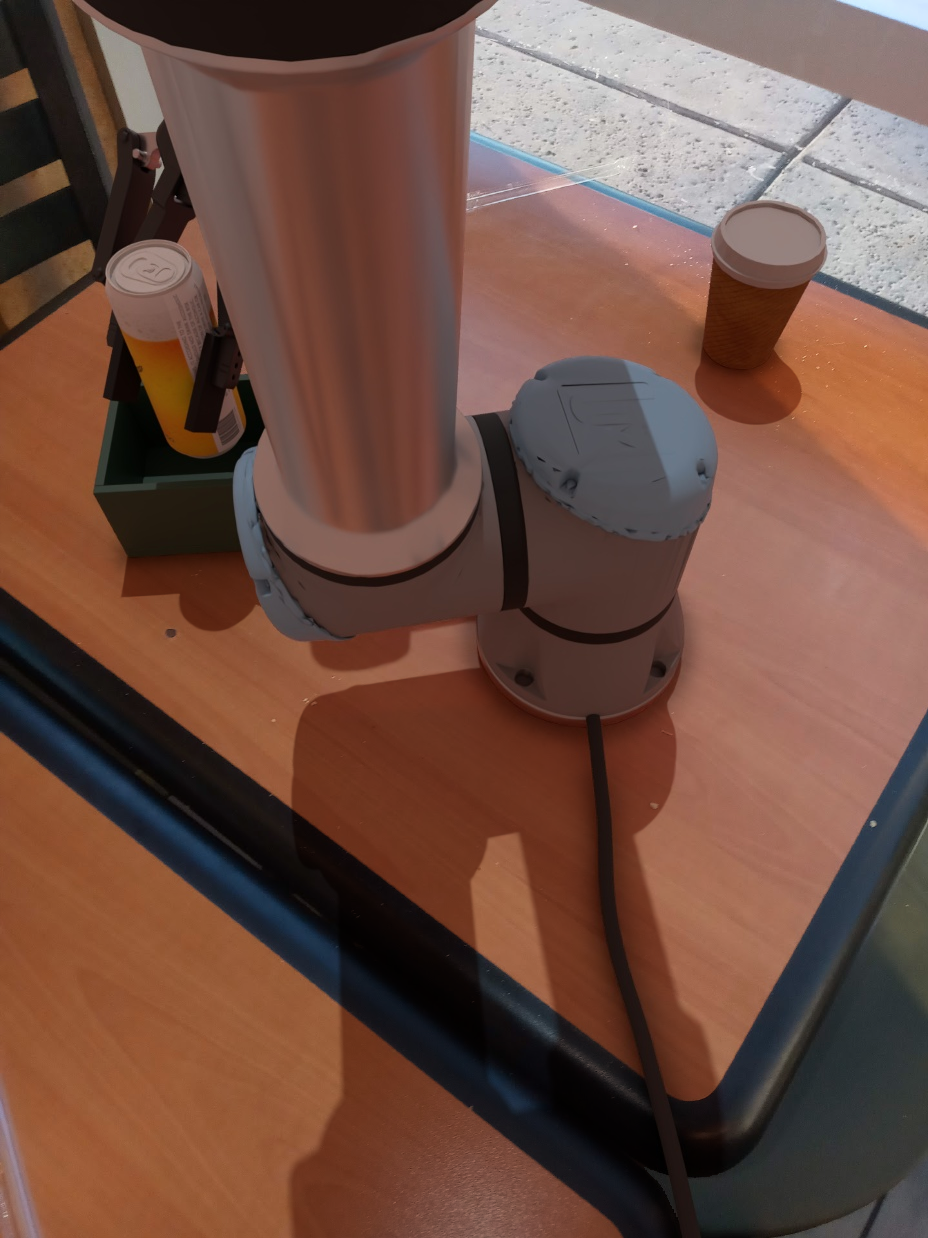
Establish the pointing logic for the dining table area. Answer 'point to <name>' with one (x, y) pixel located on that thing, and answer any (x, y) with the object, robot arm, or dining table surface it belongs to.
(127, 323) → the beer can
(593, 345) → the dining table surface
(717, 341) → the disposable coffee cup
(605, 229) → the dining table surface
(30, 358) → the dining table surface
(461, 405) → the dining table surface
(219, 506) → the open rectangular storage bin
